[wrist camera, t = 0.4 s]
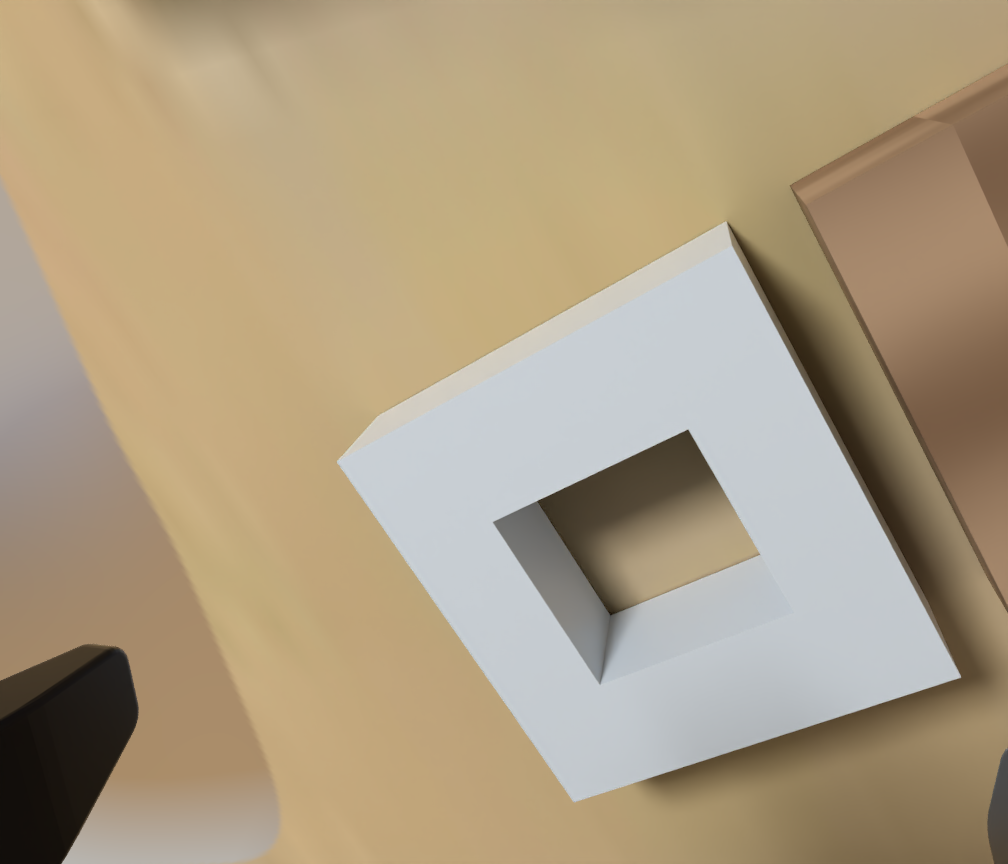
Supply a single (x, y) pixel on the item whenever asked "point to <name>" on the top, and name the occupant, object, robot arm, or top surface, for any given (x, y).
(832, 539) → the socket
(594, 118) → the top surface
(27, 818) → the robot arm
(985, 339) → the mount
